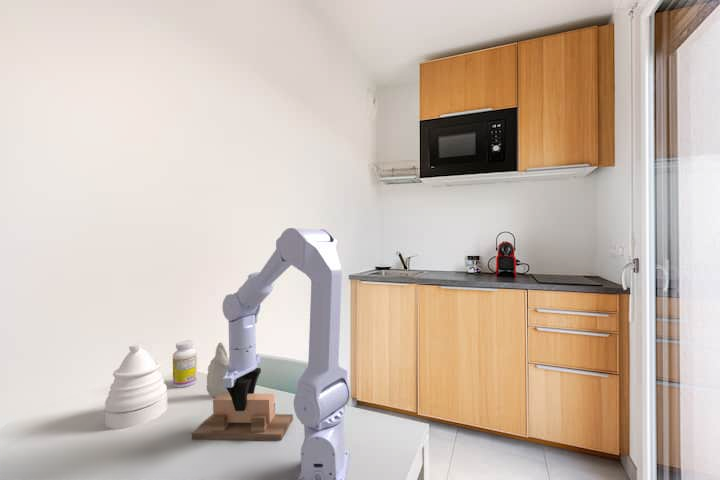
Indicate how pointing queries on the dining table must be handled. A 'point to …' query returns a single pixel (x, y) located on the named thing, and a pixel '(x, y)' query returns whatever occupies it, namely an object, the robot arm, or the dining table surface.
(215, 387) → the stone tool
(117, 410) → the honey pot
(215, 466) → the dining table surface
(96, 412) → the dining table surface
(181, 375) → the supplement bottle
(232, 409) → the clay bar
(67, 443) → the dining table surface
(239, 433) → the wooden block stand
